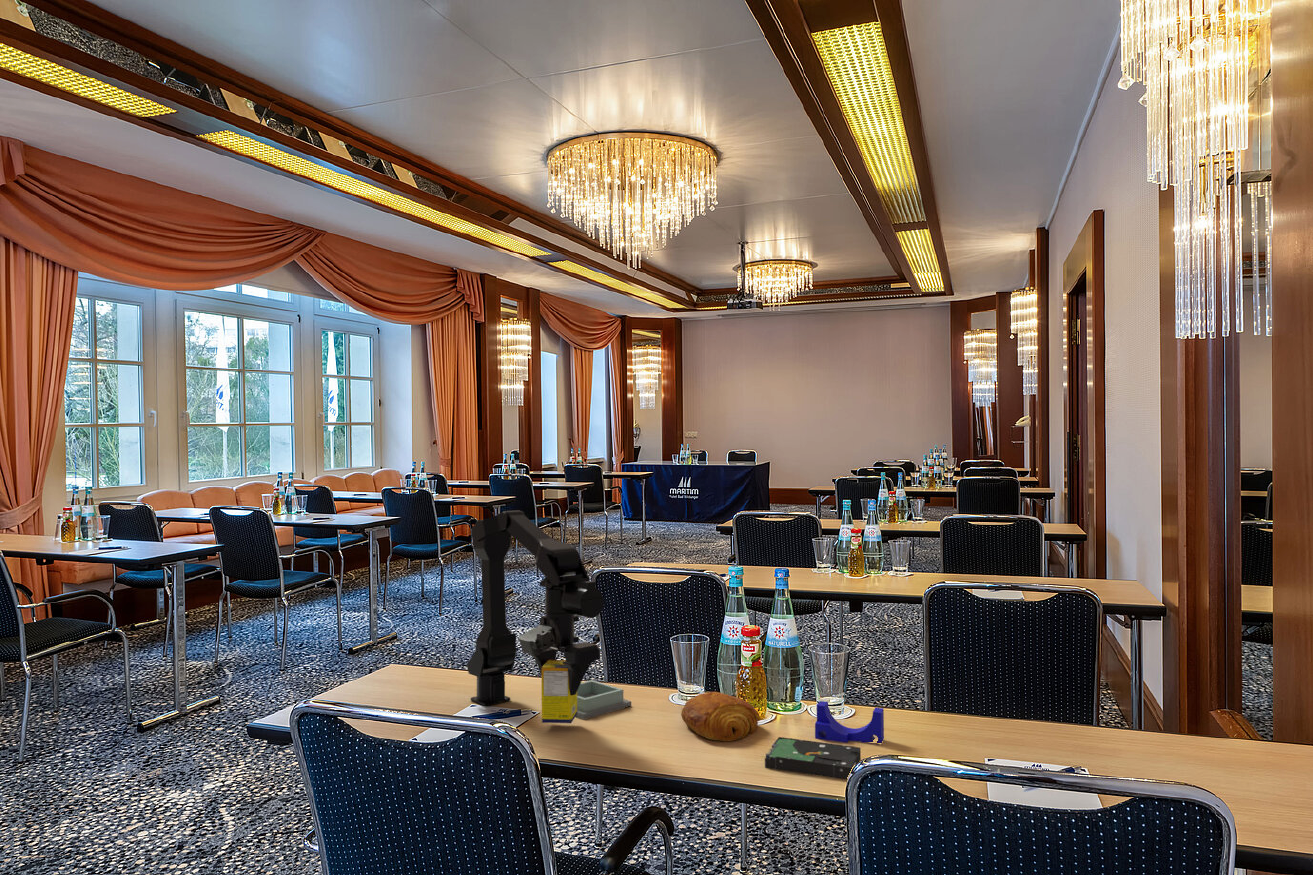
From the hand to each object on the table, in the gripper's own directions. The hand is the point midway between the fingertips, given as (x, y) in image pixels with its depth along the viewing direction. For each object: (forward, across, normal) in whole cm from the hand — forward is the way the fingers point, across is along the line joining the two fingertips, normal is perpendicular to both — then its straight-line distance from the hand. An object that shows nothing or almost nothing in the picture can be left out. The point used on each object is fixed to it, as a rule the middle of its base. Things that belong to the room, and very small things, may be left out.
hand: (559, 690), depth 160 cm
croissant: (+8, +23, +22) cm, 33 cm away
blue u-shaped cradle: (+8, +44, +35) cm, 56 cm away
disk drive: (+8, +46, +20) cm, 51 cm away
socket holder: (+7, -7, +13) cm, 16 cm away
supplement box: (+6, 0, 0) cm, 6 cm away
